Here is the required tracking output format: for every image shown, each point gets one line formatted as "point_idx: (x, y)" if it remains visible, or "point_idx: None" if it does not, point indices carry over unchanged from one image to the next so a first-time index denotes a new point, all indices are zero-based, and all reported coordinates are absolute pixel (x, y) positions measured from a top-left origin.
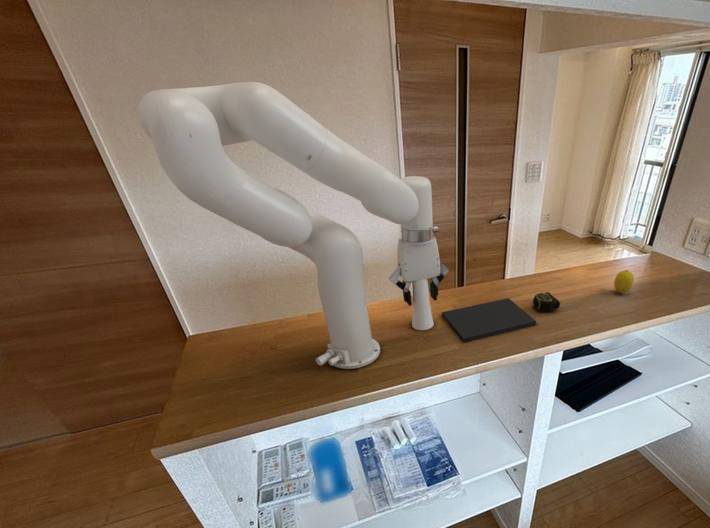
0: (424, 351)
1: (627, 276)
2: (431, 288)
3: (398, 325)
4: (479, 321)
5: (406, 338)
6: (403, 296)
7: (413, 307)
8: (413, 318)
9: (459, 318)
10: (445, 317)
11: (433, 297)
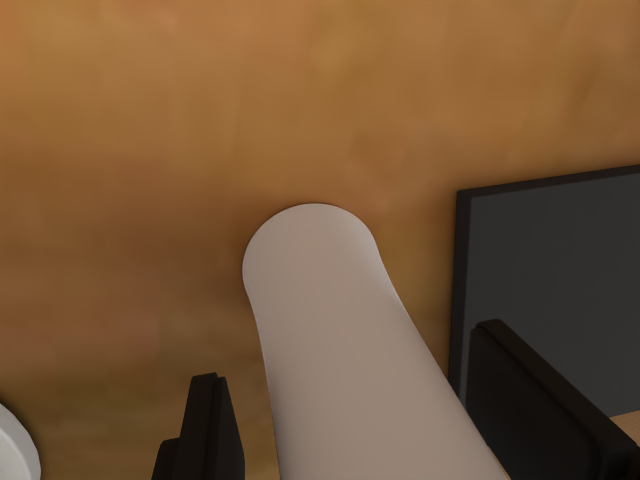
0: (266, 471)
1: None
2: (539, 441)
3: (152, 236)
4: (594, 342)
5: (193, 375)
6: (153, 472)
7: (265, 370)
8: (255, 319)
9: (526, 295)
10: (463, 253)
11: (478, 414)
